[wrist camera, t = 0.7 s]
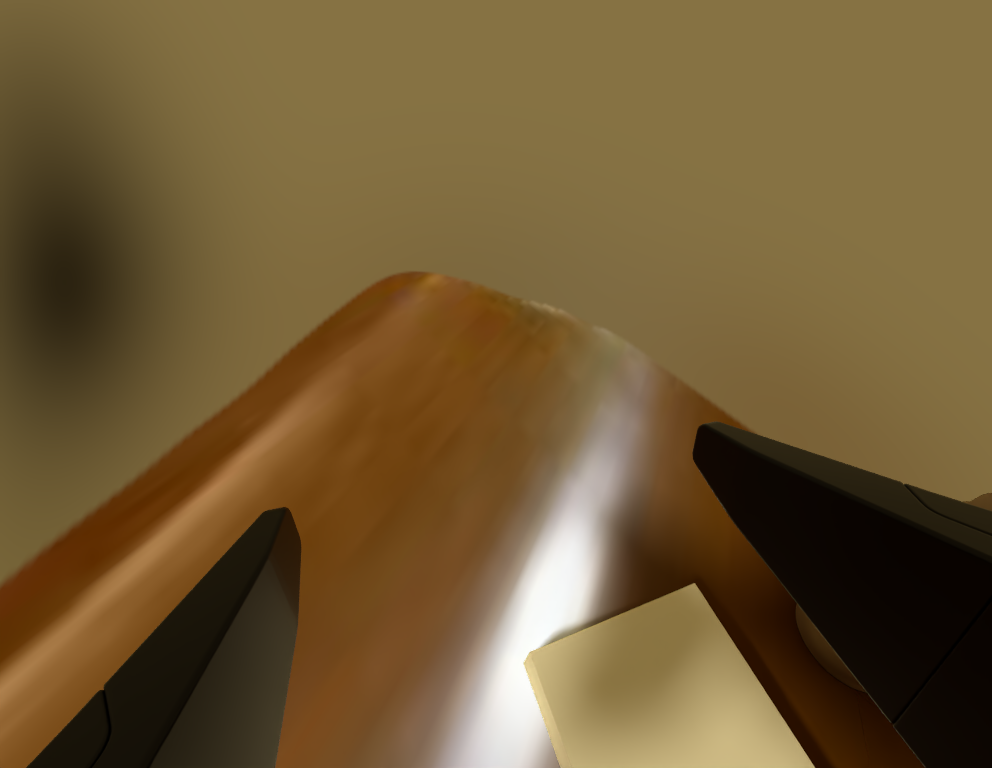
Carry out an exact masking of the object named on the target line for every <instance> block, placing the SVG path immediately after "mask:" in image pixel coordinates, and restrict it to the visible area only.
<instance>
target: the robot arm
mask: <svg viewBox="0 0 992 768" xmlns="http://www.w3.org/2000/svg"><path fill="white" fill-rule="evenodd" d="M693 460H694V462H695V464H696V466H697V467H698V469H699V470H700V472H701V474H702V475H703V477H704V478H705V480H706V481H707V483H708V485H709V486H710V488H711V489H712V491H713V492H714V494H715V495H716V497H717V499H718V500H719V502H720V503H721V505H722V506H723V508H724V509H725V511H726V512H727V514H728V515H729V517H730V518H731V520H732V521H733V522H734V524H735V525H736V526H737V528H738V529H739V530H740V531H741V533H742V534H743V535H744V536H745V538H746V539H747V540H748V542H749V543H750V544H751V545H752V547H753V548H754V549H755V551H756V552H757V553H758V554H759V556H760V557H761V558H762V559H763V561H764V562H765V563H766V565H767V566H768V567H769V568H770V570H771V571H772V572H773V573H774V575H775V576H776V577H777V579H778V580H779V581H780V582H781V584H782V585H783V586H784V588H785V589H786V590H787V591H788V593H789V594H790V595H791V596H792V598H793V599H794V600H795V602H796V603H797V604H798V605H799V607H800V608H801V609H802V610H803V612H804V613H805V614H806V616H807V617H808V618H809V619H810V621H811V622H812V623H813V625H814V626H815V627H816V628H817V630H818V631H819V632H820V633H821V635H822V636H823V637H824V639H825V640H826V641H827V642H828V644H829V645H830V646H831V647H832V649H833V650H834V651H835V653H836V654H837V655H838V656H839V658H840V659H841V660H842V662H843V663H844V664H845V665H846V667H847V668H848V669H849V670H850V672H851V673H852V674H853V676H854V677H855V678H856V679H857V681H858V682H859V683H860V684H861V686H862V687H863V688H864V690H865V691H866V692H867V693H868V695H869V696H870V697H871V699H872V700H873V701H874V702H875V704H876V705H877V706H878V707H879V709H880V710H881V711H882V713H883V714H884V715H885V716H886V718H887V719H888V720H889V721H890V722H891V723H892V724H893V727H894V728H895V730H896V731H897V732H898V733H899V735H900V736H901V737H902V739H903V740H904V741H905V742H906V744H907V745H908V746H909V748H910V749H911V750H912V751H913V753H914V754H915V755H916V756H917V758H918V759H919V760H920V762H921V763H922V764H923V765H924V767H925V768H992V511H991V510H988V509H984V508H981V507H978V506H974V505H971V504H967V503H964V502H961V501H958V500H955V499H952V498H948V497H945V496H942V495H939V494H936V493H932V492H929V491H926V490H924V489H920V488H918V487H914V486H911V485H909V484H903V483H901V482H899V481H896V480H893V479H890V478H887V477H884V476H881V475H878V474H875V473H872V472H869V471H866V470H863V469H859V468H857V467H854V466H851V465H848V464H845V463H842V462H839V461H835V460H832V459H829V458H827V457H824V456H820V455H817V454H814V453H811V452H808V451H805V450H802V449H799V448H796V447H793V446H790V445H787V444H784V443H781V442H778V441H775V440H772V439H769V438H766V437H763V436H760V435H757V434H754V433H751V432H748V431H745V430H742V429H739V428H736V427H733V426H730V425H727V424H724V423H721V422H711V423H706V424H702V425H700V426H699V428H698V430H697V434H696V439H695V443H694V448H693ZM300 565H301V540H300V536H299V533H298V531H297V528H296V525H295V522H294V520H293V517H292V514H291V512H290V510H289V509H288V508H286V507H282V508H277V509H272V510H267V511H265V512H263V513H262V514H261V515H260V516H259V517H258V518H257V519H256V520H255V522H254V523H253V524H252V525H251V526H250V527H249V528H248V529H247V530H246V531H245V532H244V534H243V535H242V536H241V537H240V538H239V539H238V540H237V541H236V542H235V543H234V544H233V545H232V547H231V548H230V549H229V550H228V551H227V552H226V553H225V554H224V555H223V556H222V557H221V558H220V560H219V561H218V562H217V563H216V564H215V565H214V566H213V567H212V568H211V569H210V570H209V572H208V573H207V574H206V575H205V576H204V577H203V578H202V579H201V580H200V581H199V582H198V583H197V585H196V586H195V587H194V588H193V589H192V590H191V591H190V592H189V593H188V594H187V595H186V597H185V598H184V599H183V600H182V601H181V602H180V603H179V604H178V605H177V606H176V607H175V608H174V610H173V611H172V612H171V613H170V614H169V615H168V616H167V617H166V618H165V619H164V620H163V621H162V623H161V624H160V625H159V626H158V627H157V628H156V629H155V630H154V631H153V632H152V633H151V635H150V636H149V637H148V638H147V639H146V640H145V641H144V642H143V643H142V644H141V645H140V646H139V648H138V649H137V650H136V651H135V652H134V653H133V654H132V655H131V656H130V657H129V658H128V660H127V661H126V662H125V663H124V664H123V665H122V666H121V667H120V668H119V669H118V670H117V671H116V673H115V674H114V675H113V676H112V677H111V678H110V679H109V680H108V681H107V682H106V683H105V685H104V690H100V691H98V692H97V693H96V694H95V695H94V696H93V697H92V698H91V699H90V701H89V702H88V703H87V704H86V705H85V706H84V707H83V708H82V709H81V710H80V711H79V712H78V714H77V715H76V716H75V717H74V718H73V719H72V720H71V721H70V722H69V723H68V724H67V725H66V726H65V727H64V728H63V729H62V731H61V732H60V733H59V734H58V735H57V736H56V737H55V738H54V739H53V740H52V741H51V742H50V743H49V744H48V745H47V746H46V747H45V748H44V749H43V751H42V752H41V753H40V754H39V755H38V756H37V757H36V758H35V759H34V760H33V761H32V762H31V763H30V764H29V765H28V766H27V767H26V768H275V765H276V758H277V752H278V746H279V740H280V734H281V727H282V721H283V715H284V709H285V703H286V697H287V690H288V684H289V678H290V672H291V666H292V660H293V653H294V647H295V641H296V634H297V626H298V612H299V589H300Z"/></svg>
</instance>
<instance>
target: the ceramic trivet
mask: <svg viewBox="0 0 992 768" xmlns="http://www.w3.org/2000/svg"><path fill="white" fill-rule="evenodd" d="M523 664H524V666H525V669H526V672H527V675H528V678H529V680H530V683H531V686H532V689H533V692H534V695H535V697H536V700H537V703H538V706H539V709H540V711H541V714H542V717H543V720H544V723H545V725H546V728H547V731H548V734H549V737H550V740H551V742H552V745H553V748H554V751H555V754H556V756H557V759H558V762H559V765H560V768H815V767H814V765H813V764H812V762H811V761H810V759H809V758H808V756H807V754H806V753H805V751H804V750H803V748H802V747H801V745H800V744H799V742H798V741H797V739H796V738H795V736H794V735H793V733H792V731H791V730H790V728H789V727H788V725H787V724H786V722H785V721H784V719H783V718H782V716H781V715H780V713H779V712H778V710H777V708H776V707H775V705H774V704H773V702H772V701H771V699H770V698H769V696H768V695H767V693H766V692H765V690H764V688H763V687H762V685H761V684H760V682H759V681H758V679H757V678H756V676H755V675H754V673H753V672H752V670H751V669H750V667H749V665H748V664H747V662H746V661H745V659H744V658H743V656H742V655H741V653H740V652H739V650H738V649H737V647H736V645H735V644H734V642H733V641H732V639H731V638H730V636H729V635H728V633H727V632H726V630H725V629H724V627H723V626H722V624H721V622H720V621H719V619H718V618H717V616H716V615H715V613H714V612H713V610H712V609H711V607H710V606H709V604H708V603H707V601H706V599H705V598H704V596H703V595H702V593H701V592H700V590H699V589H698V587H697V586H696V584H695V583H694V584H691V585H689V586H686V587H684V588H682V589H679V590H677V591H675V592H672V593H670V594H667V595H665V596H663V597H660V598H658V599H655V600H653V601H651V602H648V603H646V604H644V605H641V606H639V607H636V608H634V609H632V610H629V611H627V612H624V613H622V614H620V615H617V616H615V617H612V618H610V619H608V620H605V621H603V622H601V623H598V624H596V625H593V626H591V627H589V628H586V629H584V630H581V631H579V632H577V633H574V634H572V635H570V636H567V637H565V638H562V639H560V640H558V641H555V642H553V643H550V644H548V645H546V646H543V647H541V648H539V649H536V650H534V651H531V652H530V653H529V654H528V656H527V658H526V660H525V661H524V663H523Z"/></svg>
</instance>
